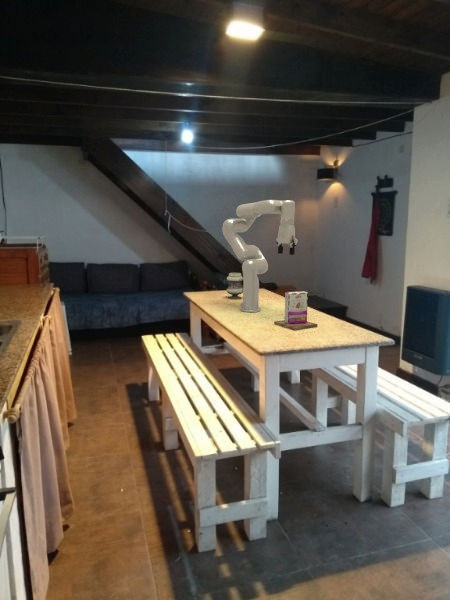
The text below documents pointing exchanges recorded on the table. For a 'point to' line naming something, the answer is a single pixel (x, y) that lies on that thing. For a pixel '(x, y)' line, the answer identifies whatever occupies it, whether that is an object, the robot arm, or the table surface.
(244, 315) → the table surface
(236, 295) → the apothecary jar
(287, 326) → the walnut board
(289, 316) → the candy bar box
